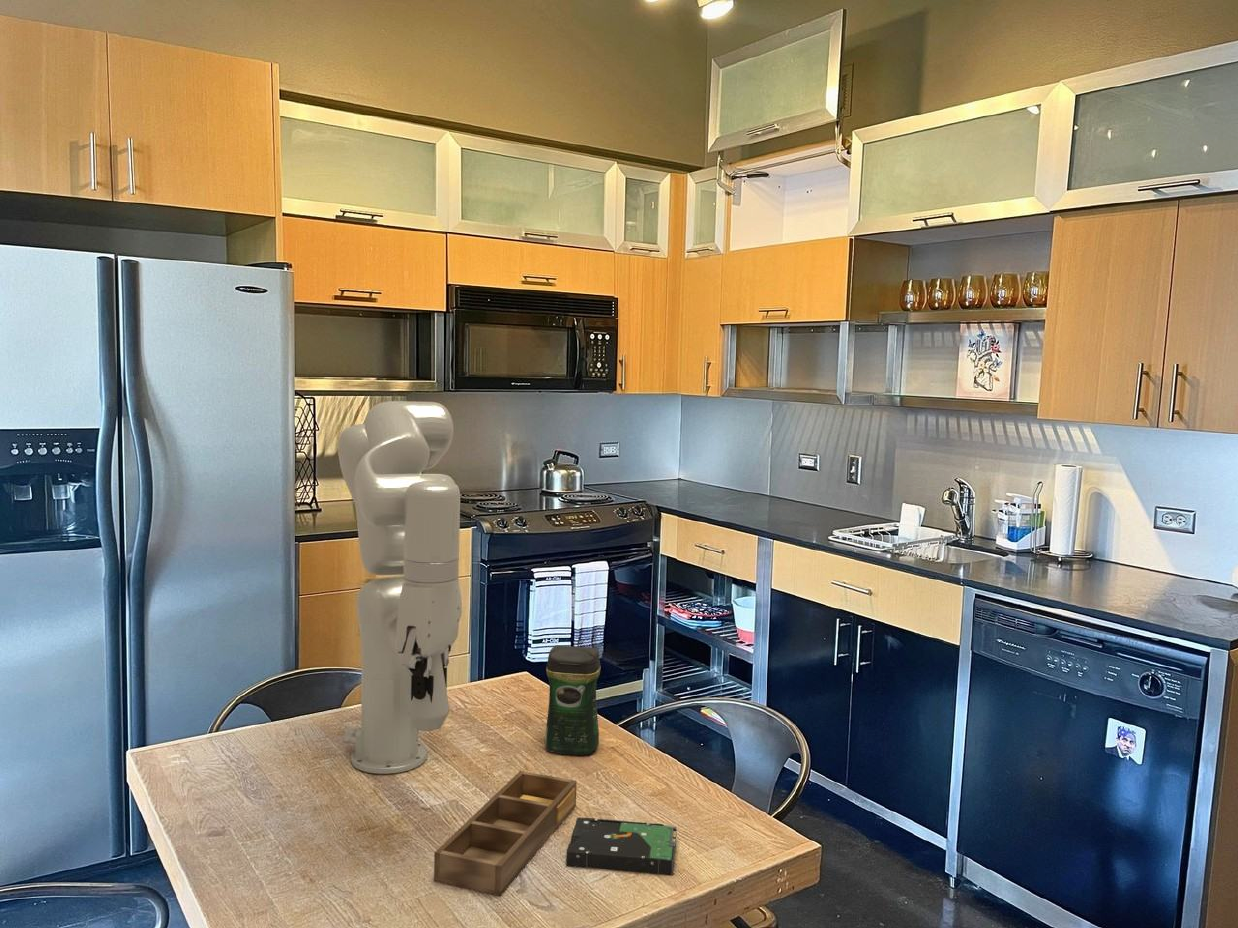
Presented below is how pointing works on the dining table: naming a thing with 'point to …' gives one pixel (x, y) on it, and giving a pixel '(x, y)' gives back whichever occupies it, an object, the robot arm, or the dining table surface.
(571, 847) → the disk drive
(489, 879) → the wooden compartment tray
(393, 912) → the dining table surface
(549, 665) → the coffee jar
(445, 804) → the dining table surface
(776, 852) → the dining table surface
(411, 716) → the salt shaker
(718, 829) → the dining table surface
